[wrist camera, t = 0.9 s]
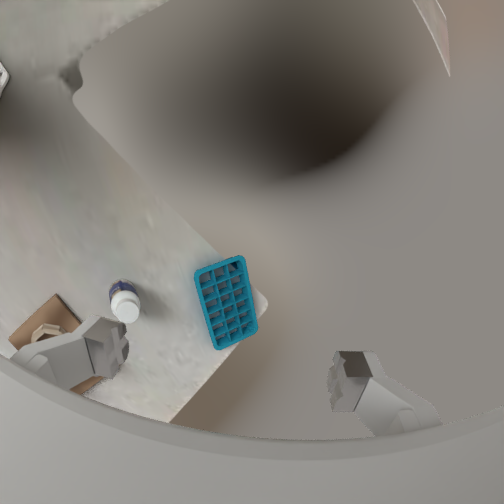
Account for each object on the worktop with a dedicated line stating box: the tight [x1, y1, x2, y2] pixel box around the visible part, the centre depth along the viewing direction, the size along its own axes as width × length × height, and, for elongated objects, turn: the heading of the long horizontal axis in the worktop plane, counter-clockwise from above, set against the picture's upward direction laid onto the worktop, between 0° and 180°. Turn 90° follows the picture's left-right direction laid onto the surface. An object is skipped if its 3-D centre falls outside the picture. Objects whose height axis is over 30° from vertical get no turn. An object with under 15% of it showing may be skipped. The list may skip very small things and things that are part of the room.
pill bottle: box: [109, 279, 141, 324], centre depth 45 cm, size 5×5×10 cm
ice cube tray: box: [194, 255, 258, 350], centre depth 61 cm, size 12×20×3 cm, turn 11°
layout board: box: [8, 294, 120, 395], centre depth 43 cm, size 20×16×3 cm
